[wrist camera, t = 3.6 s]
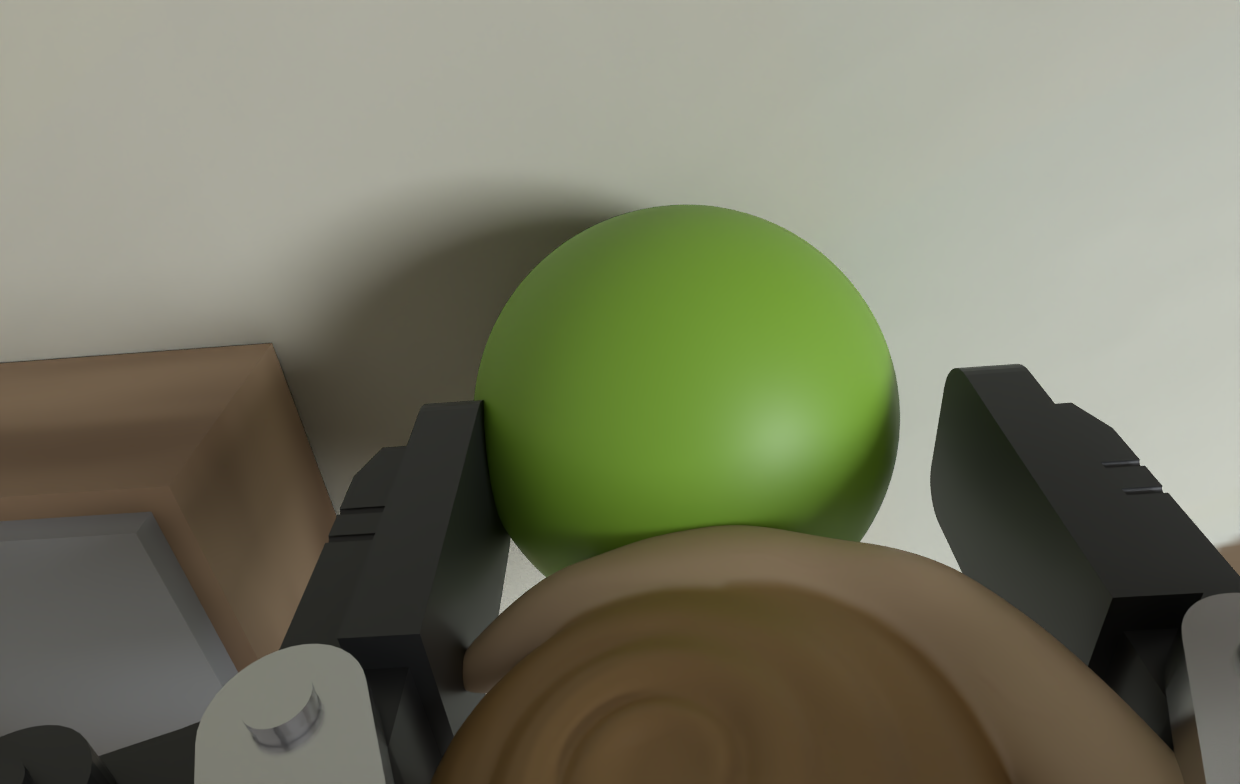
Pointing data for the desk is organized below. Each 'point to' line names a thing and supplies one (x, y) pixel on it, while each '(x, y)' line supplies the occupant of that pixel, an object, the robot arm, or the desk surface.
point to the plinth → (148, 534)
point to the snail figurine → (739, 544)
